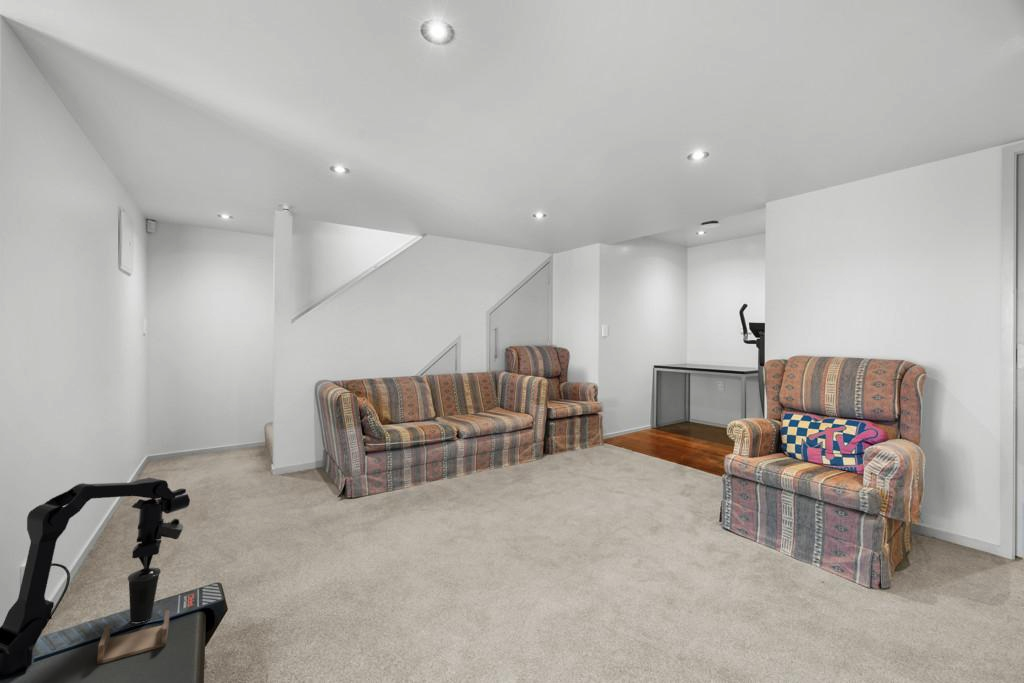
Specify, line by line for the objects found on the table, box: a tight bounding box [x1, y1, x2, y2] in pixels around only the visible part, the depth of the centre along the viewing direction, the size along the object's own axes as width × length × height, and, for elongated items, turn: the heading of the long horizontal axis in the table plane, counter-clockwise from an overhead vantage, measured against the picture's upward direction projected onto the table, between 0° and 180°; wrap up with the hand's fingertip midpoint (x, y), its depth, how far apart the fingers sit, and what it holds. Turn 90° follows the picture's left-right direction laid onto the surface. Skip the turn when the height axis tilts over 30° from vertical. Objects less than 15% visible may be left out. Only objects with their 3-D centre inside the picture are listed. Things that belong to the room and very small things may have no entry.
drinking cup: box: [127, 556, 161, 623], centre depth 131 cm, size 8×8×20 cm
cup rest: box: [96, 609, 171, 665], centre depth 120 cm, size 14×10×5 cm
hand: (146, 567), depth 137 cm, fingers closed
